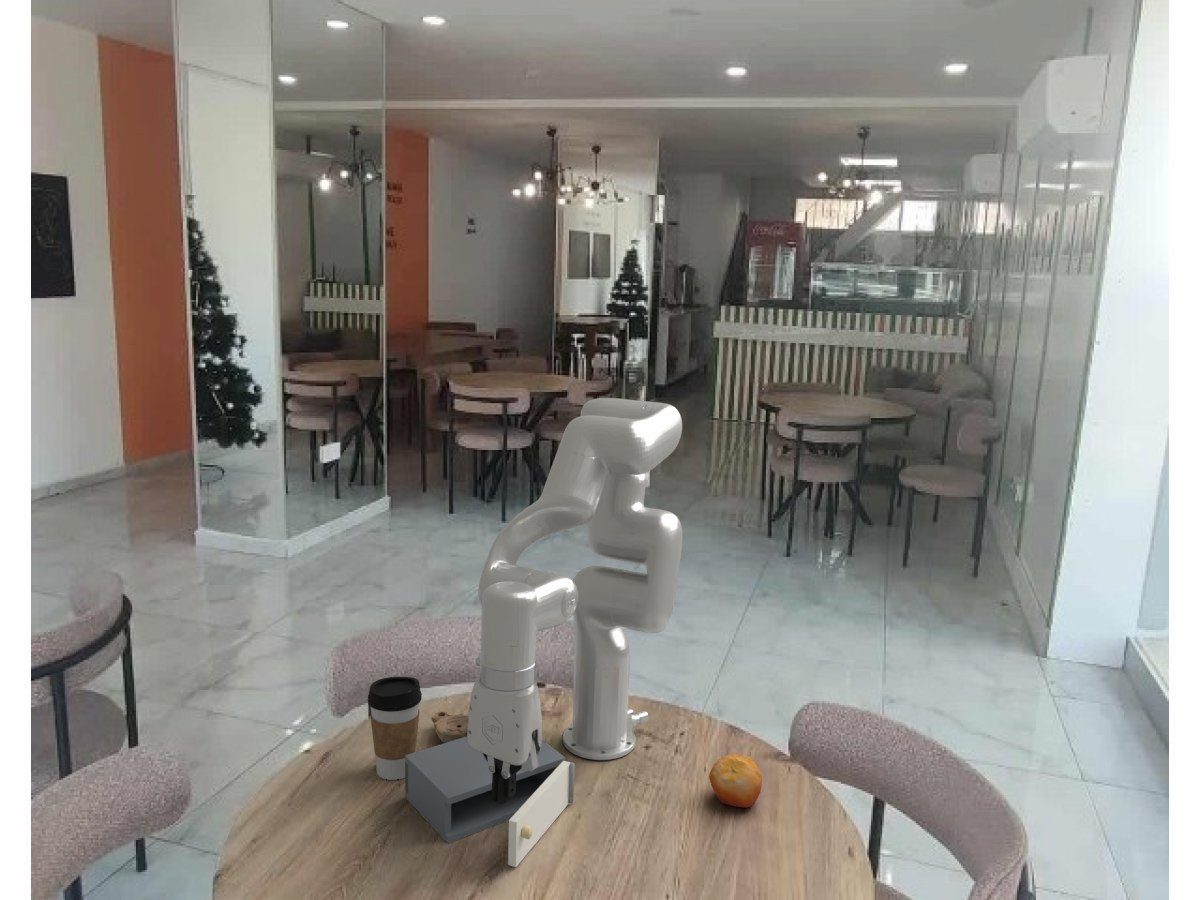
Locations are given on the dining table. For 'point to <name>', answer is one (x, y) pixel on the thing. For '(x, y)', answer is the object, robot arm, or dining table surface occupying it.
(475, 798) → the cabinet
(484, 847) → the dining table surface
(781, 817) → the dining table surface
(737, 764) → the fruit
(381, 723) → the coffee cup
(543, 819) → the door
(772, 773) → the dining table surface
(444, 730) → the oil lamp
